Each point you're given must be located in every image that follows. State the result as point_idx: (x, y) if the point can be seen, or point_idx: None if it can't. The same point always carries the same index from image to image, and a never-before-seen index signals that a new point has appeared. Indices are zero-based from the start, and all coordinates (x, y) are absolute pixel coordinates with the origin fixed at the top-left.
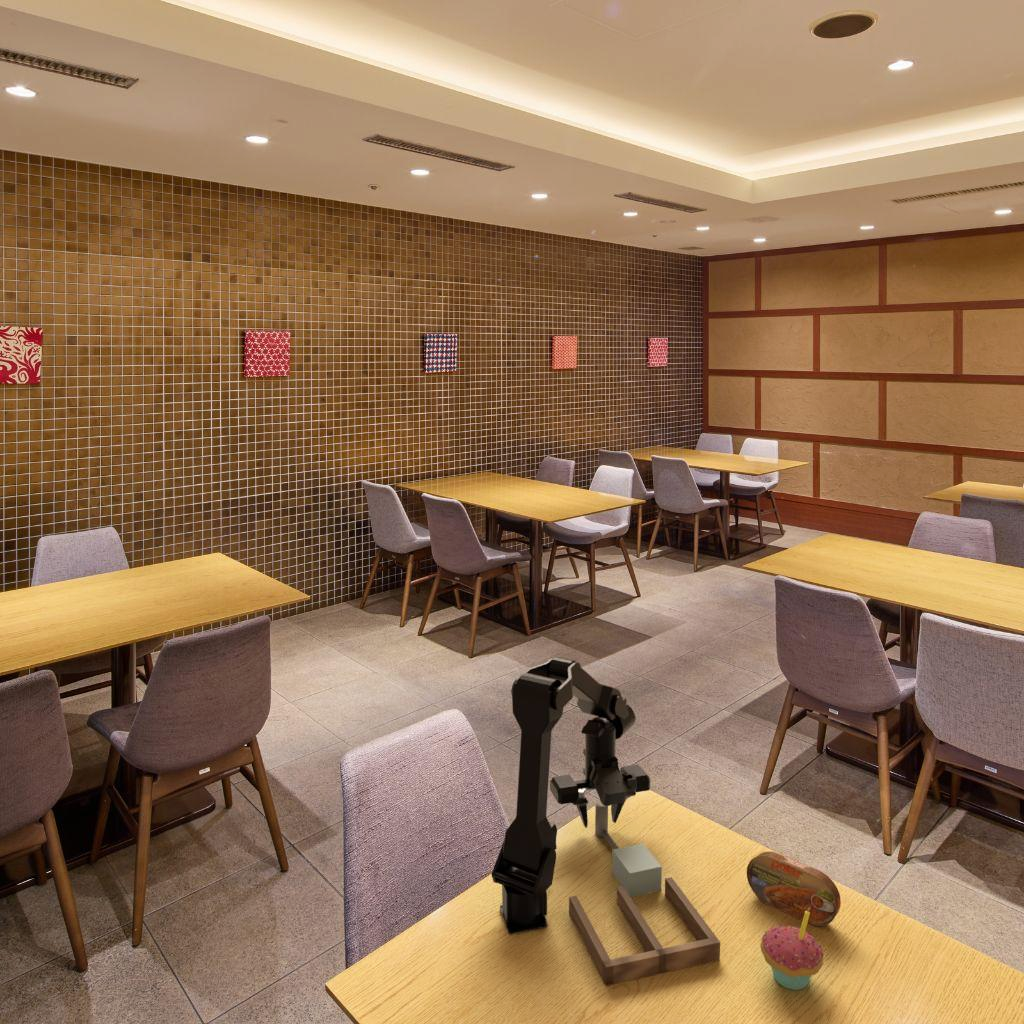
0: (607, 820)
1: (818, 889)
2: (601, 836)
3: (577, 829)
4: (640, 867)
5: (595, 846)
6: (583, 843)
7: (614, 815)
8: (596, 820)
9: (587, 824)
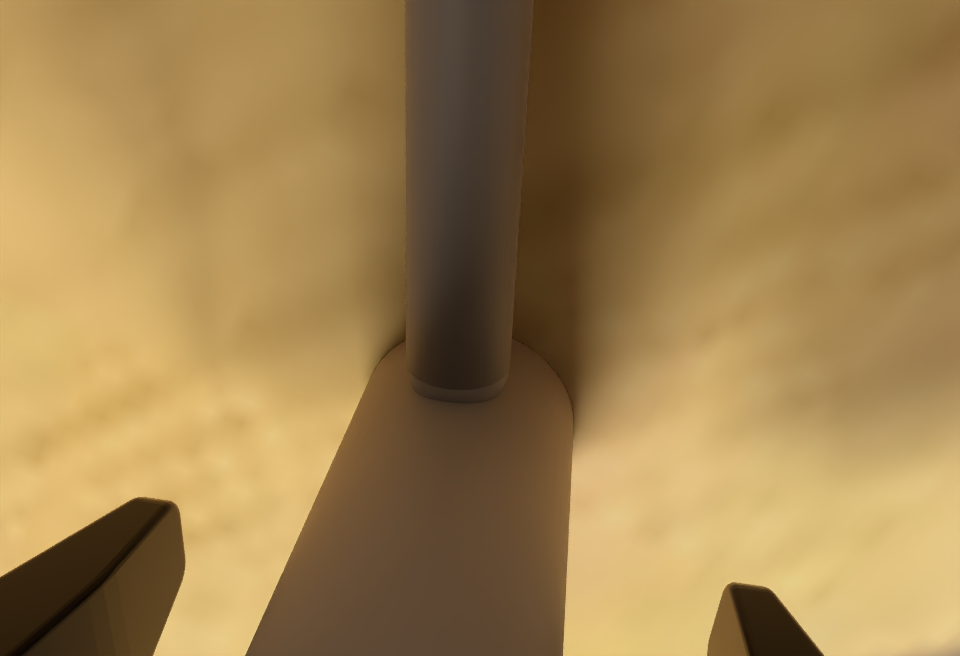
0: (308, 544)
1: None
2: (515, 346)
3: None
4: None
5: (771, 143)
6: (921, 313)
7: (90, 614)
8: (563, 633)
9: (744, 626)
